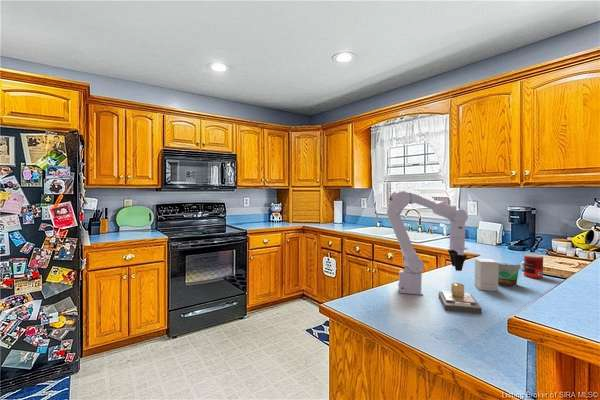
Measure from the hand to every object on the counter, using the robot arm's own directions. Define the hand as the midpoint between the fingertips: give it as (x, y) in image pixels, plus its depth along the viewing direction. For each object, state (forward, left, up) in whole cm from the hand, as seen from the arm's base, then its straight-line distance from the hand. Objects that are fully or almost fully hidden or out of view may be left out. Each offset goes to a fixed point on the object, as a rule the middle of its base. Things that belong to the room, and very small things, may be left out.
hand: (456, 268), depth 133 cm
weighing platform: (-2, -14, -8) cm, 16 cm away
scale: (-2, -15, -10) cm, 18 cm away
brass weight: (-2, -14, -8) cm, 16 cm away
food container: (+24, +17, -11) cm, 31 cm away
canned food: (+42, +36, -11) cm, 56 cm away
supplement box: (+14, +10, -11) cm, 20 cm away
